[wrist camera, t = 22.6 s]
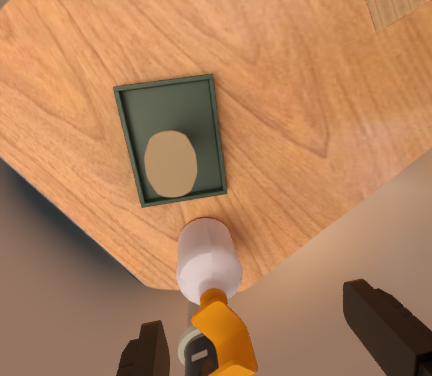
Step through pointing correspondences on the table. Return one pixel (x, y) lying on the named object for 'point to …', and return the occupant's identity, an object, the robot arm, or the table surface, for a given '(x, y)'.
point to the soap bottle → (215, 293)
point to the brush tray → (178, 121)
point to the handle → (170, 163)
